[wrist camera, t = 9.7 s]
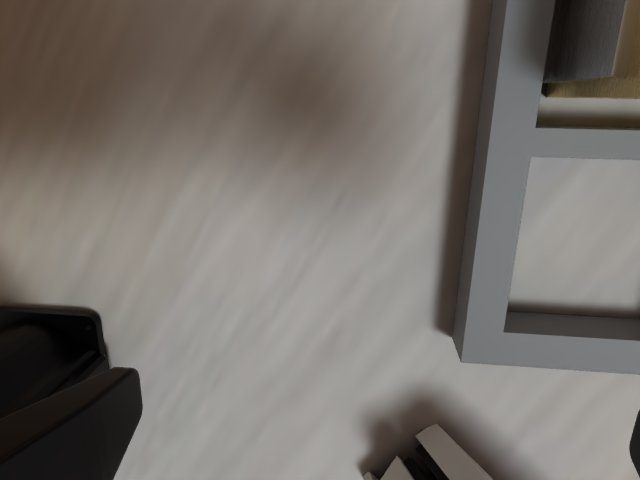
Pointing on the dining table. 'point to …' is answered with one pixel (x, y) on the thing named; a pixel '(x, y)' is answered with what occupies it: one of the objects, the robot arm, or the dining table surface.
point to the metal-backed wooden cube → (594, 50)
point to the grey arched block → (435, 460)
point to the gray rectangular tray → (507, 204)
